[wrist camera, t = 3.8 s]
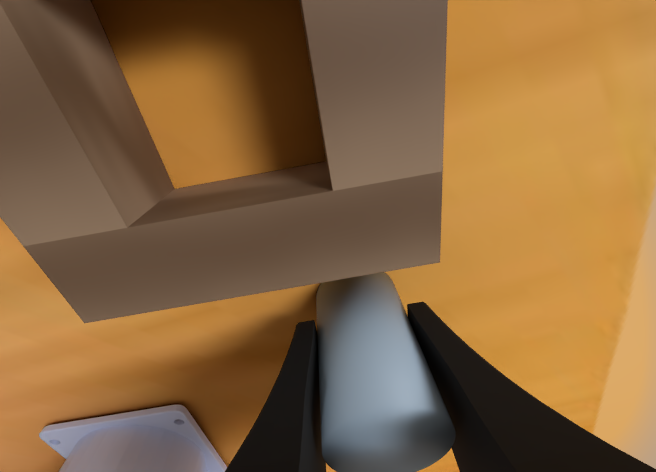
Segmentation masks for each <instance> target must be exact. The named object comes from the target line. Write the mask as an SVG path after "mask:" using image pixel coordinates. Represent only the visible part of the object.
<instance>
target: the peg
mask: <svg viewBox="0 0 656 472" xmlns="http://www.w3.org/2000/svg"><path fill="white" fill-rule="evenodd" d="M316 311H317V336H318V364H319V390H320V417H321V443H322V456H323V458H324V460H325V462H326V463H327V464H328V465H329V466H330V467H331V468H332V469H334V470H335V471H337V472H416V471H419V470H421V469H424V468H426V467H428V466H430V465H432V464H433V463H435V462H437V461H438V460H439V459H441V458H442V457H443V456H444V455H445V454H446V453H447V452H448V451H449V450H450V449H451V447H452V446H453V444H454V441H455V437H456V431H455V428H454V425H453V423H452V421H451V418H450V416H449V413H448V411H447V409H446V406H445V404H444V402H443V399H442V397H441V394H440V392H439V390H438V387H437V385H436V383H435V380H434V378H433V376H432V373H431V371H430V368H429V366H428V364H427V361H426V359H425V357H424V354H423V352H422V349H421V347H420V345H419V342H418V340H417V338H416V335H415V333H414V331H413V328H412V326H411V323H410V321H409V319H408V316H407V314H406V312H405V309H404V307H403V304H402V302H401V300H400V297H399V295H398V293H397V290H396V288H395V286H394V283H393V281H392V280H391V278H390V277H389V276H388V275H387V274H386V273H385V272H380V273H375V274H369V275H363V276H357V277H351V278H345V279H340V280H334V281H328V282H322V283H321V284H320V286H319V288H318V291H317V295H316Z"/></svg>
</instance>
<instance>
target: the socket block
mask: <svg viewBox="0 0 656 472" xmlns="http://www.w3.org/2000/svg"><path fill="white" fill-rule="evenodd" d="M447 1H448V0H299V2H300V8H301V14H302V20H303V26H304V32H305V38H306V44H307V50H308V56H309V62H310V68H311V74H312V80H313V86H314V91H315V97H316V103H317V109H318V115H319V121H320V127H321V133H322V139H323V145H324V151H325V157H326V162H321V163H316V164H310V165H305V166H299V167H294V168H288V169H283V170H277V171H272V172H266V173H261V174H255V175H250V176H244V177H238V178H233V179H227V180H222V181H216V182H211V183H205V184H200V185H194V186H189V187H183V188H178V189H174V187H173V185H172V182H171V180H170V178H169V176H168V173H167V171H166V169H165V167H164V164H163V162H162V160H161V158H160V155H159V153H158V151H157V149H156V146H155V144H154V142H153V140H152V137H151V135H150V133H149V131H148V128H147V126H146V124H145V122H144V120H143V117H142V115H141V113H140V111H139V108H138V106H137V104H136V102H135V99H134V97H133V95H132V93H131V90H130V88H129V86H128V84H127V81H126V79H125V77H124V75H123V72H122V70H121V68H120V66H119V63H118V61H117V59H116V57H115V54H114V52H113V50H112V48H111V45H110V43H109V41H108V39H107V36H106V34H105V32H104V30H103V27H102V25H101V23H100V21H99V19H98V16H97V14H96V12H95V10H94V7H93V5H92V3H91V1H90V0H0V217H1V219H2V220H3V221H4V222H5V224H6V225H7V226H8V227H9V229H10V230H11V231H12V232H13V234H14V235H15V236H16V237H17V239H18V240H19V241H20V243H21V244H22V245H23V246H24V248H25V249H26V250H27V251H28V253H29V254H30V255H31V256H32V258H33V259H34V260H35V261H36V263H37V264H38V265H39V266H40V268H41V269H42V270H43V271H44V273H45V274H46V275H47V277H48V278H49V279H50V280H51V282H52V283H53V284H54V285H55V287H56V288H57V289H58V290H59V292H60V293H61V294H62V295H63V297H64V298H65V299H66V300H67V302H68V303H69V304H70V305H71V307H72V308H73V309H74V311H75V312H76V313H77V314H78V316H79V317H80V318H81V319H82V321H83V322H84V323H88V322H94V321H100V320H106V319H112V318H118V317H124V316H129V315H135V314H141V313H147V312H153V311H159V310H164V309H170V308H176V307H182V306H188V305H194V304H199V303H205V302H211V301H217V300H223V299H229V298H234V297H240V296H246V295H252V294H258V293H264V292H269V291H275V290H281V289H287V288H293V287H299V286H305V285H310V284H316V283H322V282H328V281H334V280H340V279H345V278H351V277H357V276H363V275H369V274H375V273H380V272H386V271H392V270H398V269H404V268H410V267H415V266H421V265H427V264H433V263H439V262H440V240H441V206H442V171H443V137H444V103H445V69H446V35H447Z"/></svg>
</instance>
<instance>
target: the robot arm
mask: <svg viewBox="0 0 656 472" xmlns="http://www.w3.org/2000/svg"><path fill="white" fill-rule="evenodd" d="M407 309H408V319H409V321H410V323H411V326H412V328H413V331H414V333H415V335H416V338H417V340H418V342H419V345H420V347H421V349H422V352H423V354H424V357H425V359H426V361H427V364H428V366H429V368H430V371H431V373H432V376H433V378H434V380H435V383H436V385H437V387H438V390H439V392H440V394H441V397H442V399H443V402H444V404H445V406H446V409H447V411H448V413H449V416H450V418H451V421H452V423H453V425H454V428H455V431H456V437H455V441H454V444H453V446H452V450H453V453H454V456H455V459H456V462H457V464H458V467H459V470H460V472H656V469H654V468H652V467H651V466H649V465H647V464H645V463H643V462H641V461H639V460H638V459H636V458H634V457H632V456H630V455H628V454H626V453H625V452H623V451H621V450H619V449H617V448H615V447H613V446H612V445H610V444H608V443H607V442H605V441H603V440H601V439H600V438H598V437H596V436H595V435H593V434H591V433H590V432H588V431H586V430H585V429H583V428H581V427H580V426H578V425H576V424H575V423H573V422H572V421H570V420H569V419H567V418H566V417H564V416H562V415H561V414H559V413H558V412H556V411H555V410H553V409H551V408H550V407H548V406H547V405H545V404H544V403H542V402H541V401H539V400H538V399H536V398H535V397H533V396H532V395H531V394H529V393H528V392H526V391H525V390H523V389H522V388H521V387H519V386H518V385H517V384H515V383H514V382H512V381H511V380H510V379H508V378H507V377H506V376H504V375H503V374H502V373H501V372H499V371H498V370H497V369H496V368H494V367H493V366H492V365H491V364H489V363H488V362H487V361H486V360H485V359H483V358H482V357H481V356H480V355H479V354H477V353H476V352H475V351H474V350H473V349H472V348H471V347H469V346H468V345H467V344H466V343H465V342H464V341H463V340H462V339H461V338H460V337H458V336H457V335H456V334H455V333H454V332H453V331H452V330H451V329H450V328H449V327H448V326H447V325H446V324H445V323H444V322H443V321H442V320H441V319H440V318H439V317H438V316H437V315H436V314H435V313H434V312H433V311H432V310H431V309H430V308H429V306H428V305H427V304H426V303H424V302H419V303H413V304H407ZM39 437H40V438H41V439H42V440H43V441H44V442H46V443H47V444H48V445H49V446H51V447H52V448H53V449H54V450H55V451H57V452H58V453H59V454H60V455H62V456H63V457H64V458H65V459H66V461H65V462H64V464H63V466H62V467H61V469H60V470H59V472H326V462H325V460H324V458H323V456H322V443H321V417H320V390H319V364H318V336H317V330H316V326H315V322H314V320H311V321H305V322H299V323H298V324H297V325H296V329H295V332H294V335H293V339H292V342H291V345H290V347H289V350H288V353H287V356H286V358H285V361H284V363H283V365H282V368H281V370H280V373H279V375H278V377H277V380H276V382H275V384H274V386H273V388H272V390H271V392H270V395H269V397H268V399H267V401H266V403H265V405H264V407H263V409H262V411H261V412H260V414H259V416H258V418H257V420H256V422H255V423H254V425H253V427H252V429H251V430H250V432H249V434H248V435H247V437H246V439H245V440H244V442H243V444H242V445H241V447H240V449H239V450H238V452H237V453H236V455H235V457H234V458H233V460H232V461H231V463H230V464H229V466H228V467H227V466H226V465H225V463H224V462H223V460H222V459H221V457H220V456H219V455H218V453H217V452H216V450H215V449H214V447H213V446H212V444H211V443H210V442H209V440H208V439H207V437H206V436H205V434H204V433H203V432H202V430H201V429H200V427H199V426H198V424H197V423H196V421H195V420H194V419H193V417H192V416H191V414H190V413H189V411H188V410H187V409H186V407H184V406H182V405H178V404H177V405H169V406H163V407H157V408H151V409H145V410H139V411H132V412H126V413H120V414H114V415H108V416H102V417H96V418H89V419H83V420H77V421H71V422H65V423H59V424H53V425H48V426H45V427H44V428H43V430H42V431H41V432H40V434H39Z"/></svg>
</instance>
